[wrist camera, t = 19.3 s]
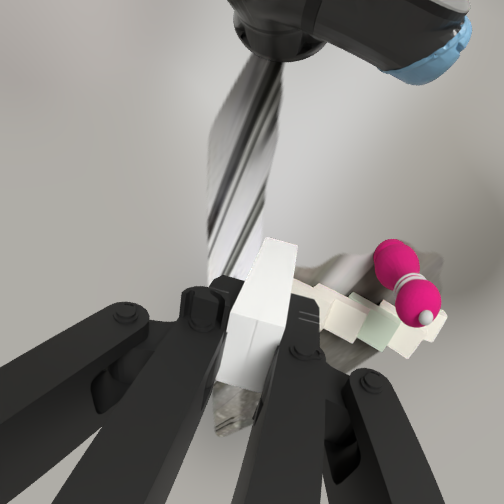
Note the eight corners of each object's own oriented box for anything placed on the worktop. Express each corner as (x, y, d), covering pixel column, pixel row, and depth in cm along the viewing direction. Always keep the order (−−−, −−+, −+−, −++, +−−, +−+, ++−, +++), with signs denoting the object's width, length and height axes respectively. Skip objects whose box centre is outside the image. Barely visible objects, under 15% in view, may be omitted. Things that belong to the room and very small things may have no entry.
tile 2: (313, 287, 50) (367, 314, 45) (319, 283, 51) (370, 309, 47) (302, 316, 52) (352, 343, 47) (308, 311, 54) (356, 337, 49)
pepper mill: (400, 280, 48) (437, 352, 30) (364, 269, 49) (387, 341, 31) (416, 242, 46) (466, 301, 27) (379, 230, 46) (416, 285, 28)
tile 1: (276, 277, 50) (330, 303, 46) (282, 273, 52) (335, 298, 47) (267, 307, 52) (318, 334, 48) (274, 302, 54) (323, 327, 50)
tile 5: (405, 303, 48) (447, 316, 47) (402, 297, 50) (443, 310, 49) (390, 331, 50) (432, 342, 49) (388, 324, 52) (429, 335, 51)
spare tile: (348, 295, 49) (399, 325, 44) (353, 291, 51) (401, 319, 46) (334, 323, 51) (382, 352, 47) (339, 318, 53) (385, 346, 48)
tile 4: (380, 303, 48) (426, 334, 44) (383, 299, 50) (428, 328, 45) (363, 330, 51) (407, 359, 46) (367, 325, 52) (409, 353, 48)
